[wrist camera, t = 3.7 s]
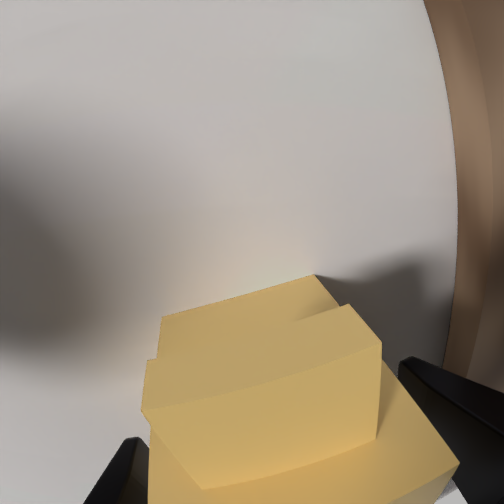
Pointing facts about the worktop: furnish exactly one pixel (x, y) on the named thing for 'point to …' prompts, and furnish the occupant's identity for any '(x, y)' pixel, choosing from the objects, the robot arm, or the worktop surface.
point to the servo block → (284, 408)
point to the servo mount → (476, 181)
